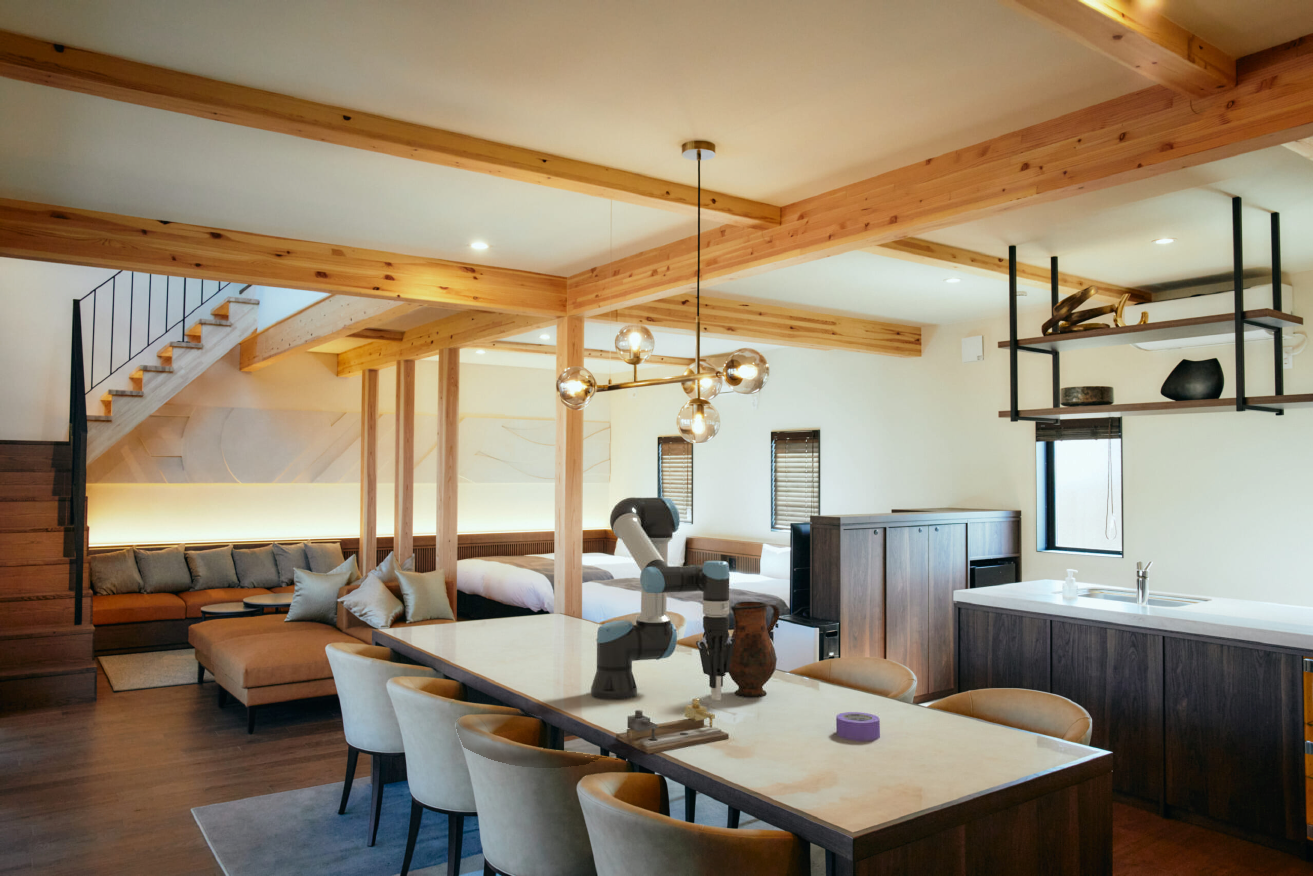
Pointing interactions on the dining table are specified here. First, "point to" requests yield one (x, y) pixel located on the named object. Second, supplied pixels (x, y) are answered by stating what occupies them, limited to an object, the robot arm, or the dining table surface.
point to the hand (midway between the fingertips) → (716, 699)
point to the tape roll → (858, 726)
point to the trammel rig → (667, 734)
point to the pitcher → (752, 648)
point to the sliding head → (698, 712)
